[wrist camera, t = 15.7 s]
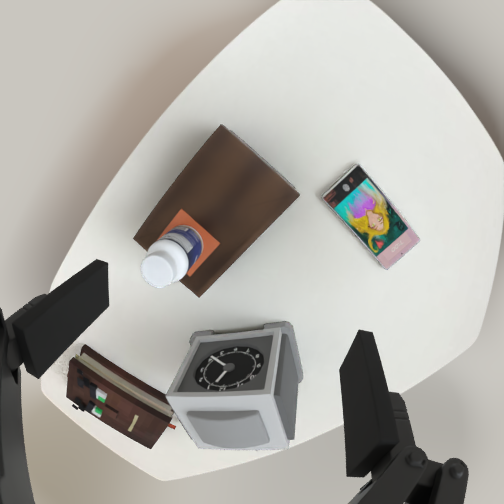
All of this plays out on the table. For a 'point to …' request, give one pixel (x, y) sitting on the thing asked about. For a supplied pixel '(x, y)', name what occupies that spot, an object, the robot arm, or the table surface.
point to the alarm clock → (239, 389)
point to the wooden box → (220, 205)
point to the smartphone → (371, 216)
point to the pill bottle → (171, 256)
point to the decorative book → (117, 398)
